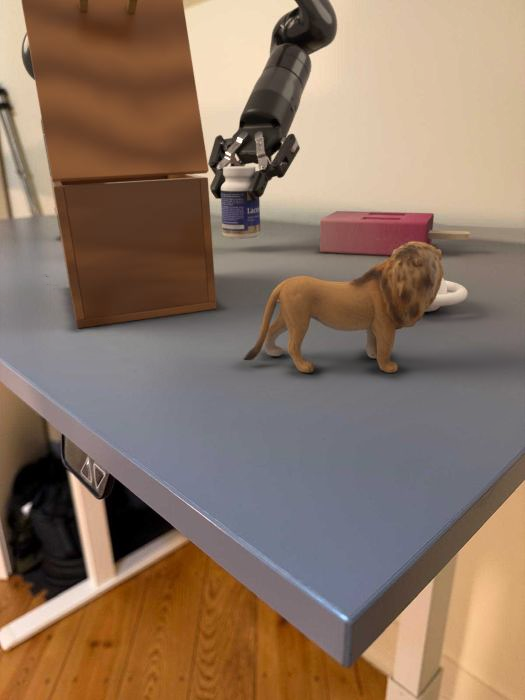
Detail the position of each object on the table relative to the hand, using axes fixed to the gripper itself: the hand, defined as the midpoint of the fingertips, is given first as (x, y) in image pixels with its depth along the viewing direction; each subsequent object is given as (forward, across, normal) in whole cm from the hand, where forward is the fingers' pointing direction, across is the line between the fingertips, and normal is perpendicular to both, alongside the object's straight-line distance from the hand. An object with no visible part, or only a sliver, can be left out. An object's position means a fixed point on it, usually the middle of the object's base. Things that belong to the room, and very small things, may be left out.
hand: (233, 195), depth 78 cm
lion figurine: (+28, +30, -17) cm, 44 cm away
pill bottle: (+3, 0, +6) cm, 7 cm away
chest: (+24, +3, -12) cm, 27 cm away
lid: (+11, +6, -29) cm, 31 cm away
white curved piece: (+17, +32, -6) cm, 37 cm away
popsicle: (-1, +21, +13) cm, 25 cm away
